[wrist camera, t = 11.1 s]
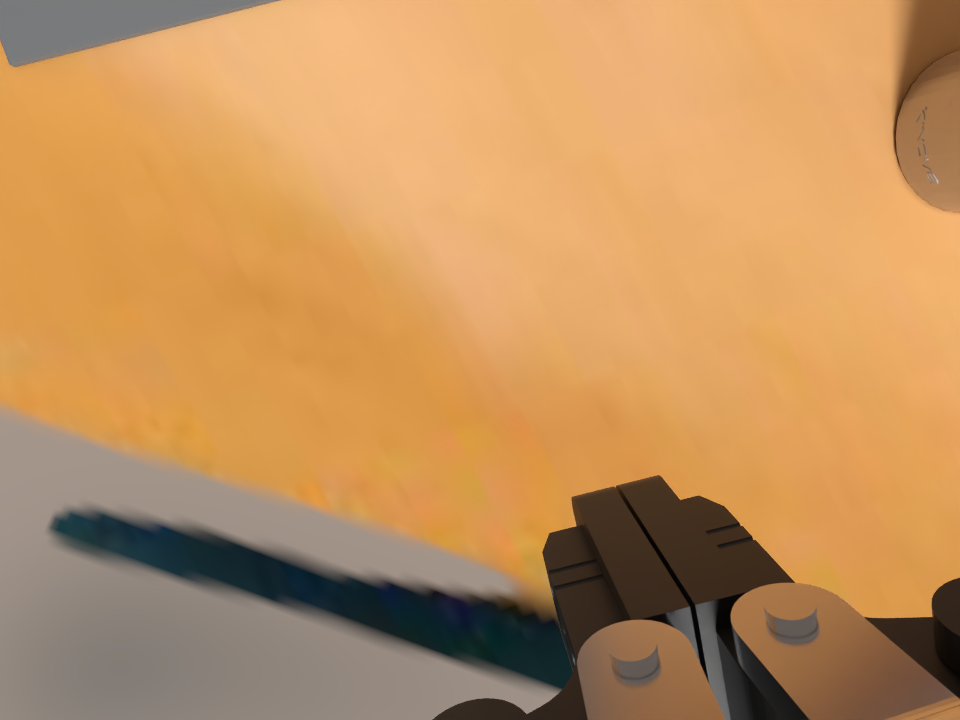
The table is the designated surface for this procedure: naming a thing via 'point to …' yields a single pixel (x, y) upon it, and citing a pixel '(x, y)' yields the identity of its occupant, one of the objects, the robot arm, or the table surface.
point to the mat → (95, 22)
